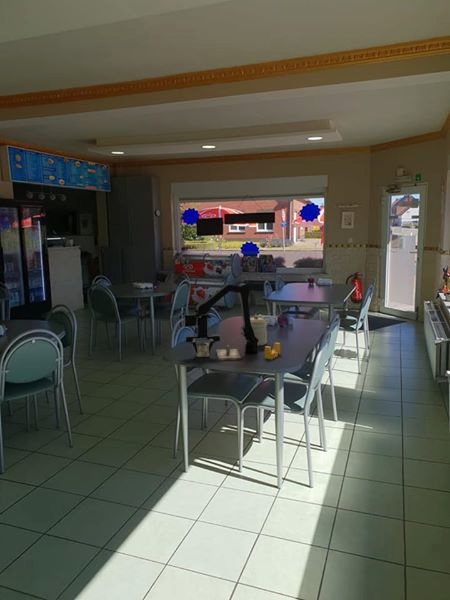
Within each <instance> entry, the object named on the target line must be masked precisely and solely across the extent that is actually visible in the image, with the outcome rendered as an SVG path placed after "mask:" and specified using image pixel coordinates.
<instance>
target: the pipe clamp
mask: <svg viewBox="0 0 450 600" xmlns="http://www.w3.org/2000/svg"><path fill="white" fill-rule="evenodd" d="M273 344H274V345H273V348H271V346H267V345H266V346H264V359H267V360H274V359H275V357H276V358H278V354H279V355H280V354H281V343H280V342H274V343H273ZM273 358H274V359H273Z"/></svg>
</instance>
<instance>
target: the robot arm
mask: <svg viewBox="0 0 450 600" xmlns="http://www.w3.org/2000/svg"><path fill="white" fill-rule="evenodd" d="M229 292H232V293H237V296H238V298H239V301H240V308H241V310H240V311H241V315H242V316H241V317H242V326H241V327H239V328H240V335H242V337H243V338H244V340H245V343H244V352H245V354H249V355H250V354H251V355H252V354H259V352H258V346H257V343H258V341H259V340H258V339H257V338H256V337H255V334H254V331H253V328H252V326H251V321H250V318H251V313H250V305H249V297H250V286H249V285H246V283H242V282H241V283H239V284H234V283H225V284H224V286H222V287H220V288H219V290H217V291H216V292H215V293H214V294H212V295H211V296H210V297H209V298H206V299H204V300H202V301H201V302H199V303H197V305H196V308H195V310H194V311H193V313H191V314H187V313H186V314H185V313H184V315H183V316H184V317H183V319H182V320H183V327H184V328H187V327H194V330H193V331H194V334H195V335H197V336H194V335H193V334H186V336H185V343H190V344H192V346H193V348H194V351H195V354H197V342H196V341H204V340H205V341H207V340H209V341H208V344H209V354H211V353H210V352H211V349H212V347H213V345H214V344H216V342H220V341H221V336H220V334H219V333H214V334H211V335H209V330H208V328H209V327H208V326H209V325H208V323H209V322H208V320H209V319H211V318H212V316H211V315H210V314H209V311H210V310H211V309H212V307H213V306H214V305H215V304H216V303H217V302H219V301H220V300H221V299H222V298H224V297H226V295H228V294H229ZM196 326H197V327H196Z"/></svg>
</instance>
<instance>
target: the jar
mask: <svg viewBox="0 0 450 600" xmlns="http://www.w3.org/2000/svg"><path fill="white" fill-rule="evenodd" d="M250 321H251V326H252V328H253V331H254V334H255V337H256V338H257V339H258V340H259V341H258V343H257V347H258V346H264V345H266V344H267V342H268V340H267V339H268V338H267V331H268V329H267V326H268V323H266V319H264V318H262V317H259V316H258V315H257V314H255V315H254V316H253V317H250Z"/></svg>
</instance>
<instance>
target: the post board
mask: <svg viewBox="0 0 450 600" xmlns="http://www.w3.org/2000/svg"><path fill="white" fill-rule="evenodd" d="M215 352H216V356H217V360H218V361H241V359H242V357H241V355H240V352H239V351H238V349H237V348H231V346H230V345H226V348H225V349H224V348H222V349H215Z"/></svg>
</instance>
